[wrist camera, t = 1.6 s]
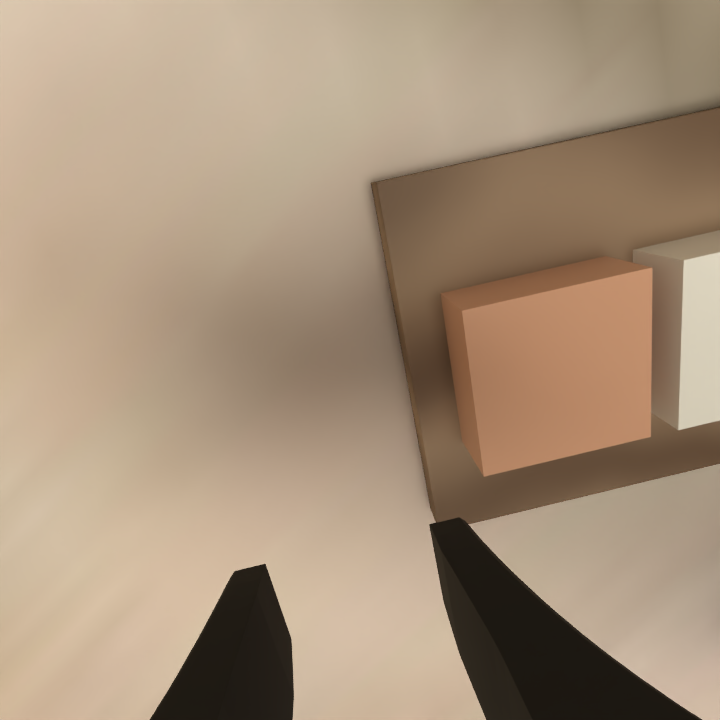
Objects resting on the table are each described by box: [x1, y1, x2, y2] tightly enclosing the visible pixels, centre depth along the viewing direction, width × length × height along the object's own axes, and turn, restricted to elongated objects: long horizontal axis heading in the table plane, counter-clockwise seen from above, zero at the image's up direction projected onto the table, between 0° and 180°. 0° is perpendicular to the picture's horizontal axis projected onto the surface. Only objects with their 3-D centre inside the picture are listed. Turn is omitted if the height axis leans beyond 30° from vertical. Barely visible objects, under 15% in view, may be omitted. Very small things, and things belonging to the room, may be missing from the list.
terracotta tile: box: [440, 256, 652, 477], centre depth 17 cm, size 6×6×2 cm
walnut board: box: [371, 107, 720, 524], centre depth 19 cm, size 14×16×2 cm
